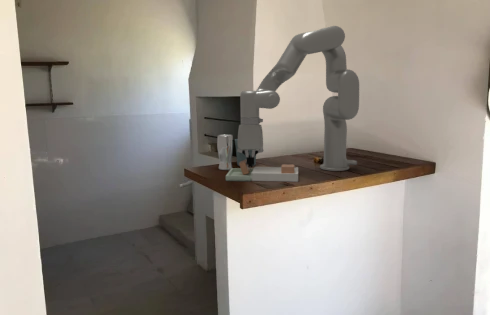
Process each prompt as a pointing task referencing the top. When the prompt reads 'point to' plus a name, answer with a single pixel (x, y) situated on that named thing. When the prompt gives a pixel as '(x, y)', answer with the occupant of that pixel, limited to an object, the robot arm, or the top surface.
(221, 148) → the beer glass
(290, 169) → the near tile
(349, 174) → the top surface
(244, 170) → the far tile
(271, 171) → the white slab
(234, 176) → the tray
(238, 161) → the grey cup
